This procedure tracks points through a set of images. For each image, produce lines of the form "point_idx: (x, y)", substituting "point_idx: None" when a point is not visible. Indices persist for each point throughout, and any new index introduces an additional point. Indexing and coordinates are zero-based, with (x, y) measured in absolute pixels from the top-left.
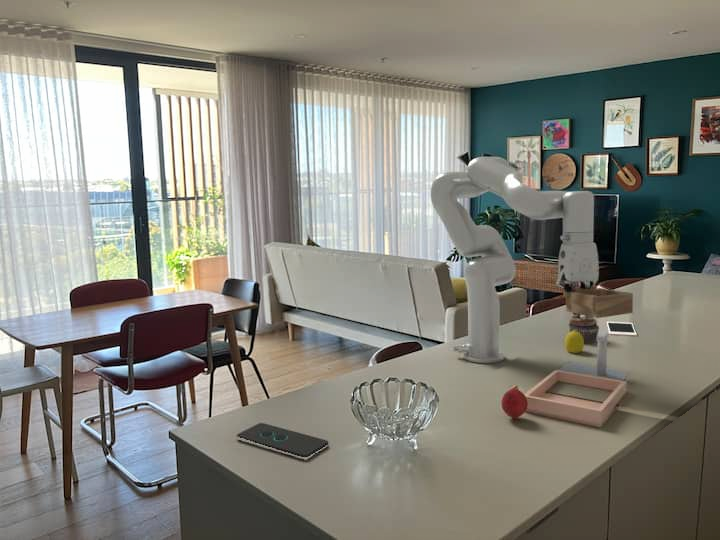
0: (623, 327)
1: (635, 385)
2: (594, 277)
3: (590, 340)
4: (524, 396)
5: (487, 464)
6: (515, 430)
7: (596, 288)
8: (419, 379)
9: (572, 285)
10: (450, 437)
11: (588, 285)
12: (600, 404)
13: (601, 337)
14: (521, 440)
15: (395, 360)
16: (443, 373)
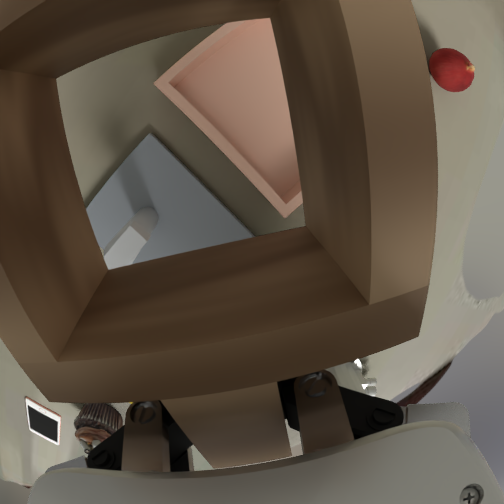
0: (40, 424)
1: (100, 154)
2: (71, 491)
3: (94, 404)
4: (451, 53)
5: (479, 3)
6: (442, 40)
7: (75, 402)
8: (462, 288)
9: (343, 429)
10: (500, 74)
11: (138, 444)
12: (264, 40)
13: (133, 227)
14: (442, 15)
15: (436, 366)
16: (426, 309)
